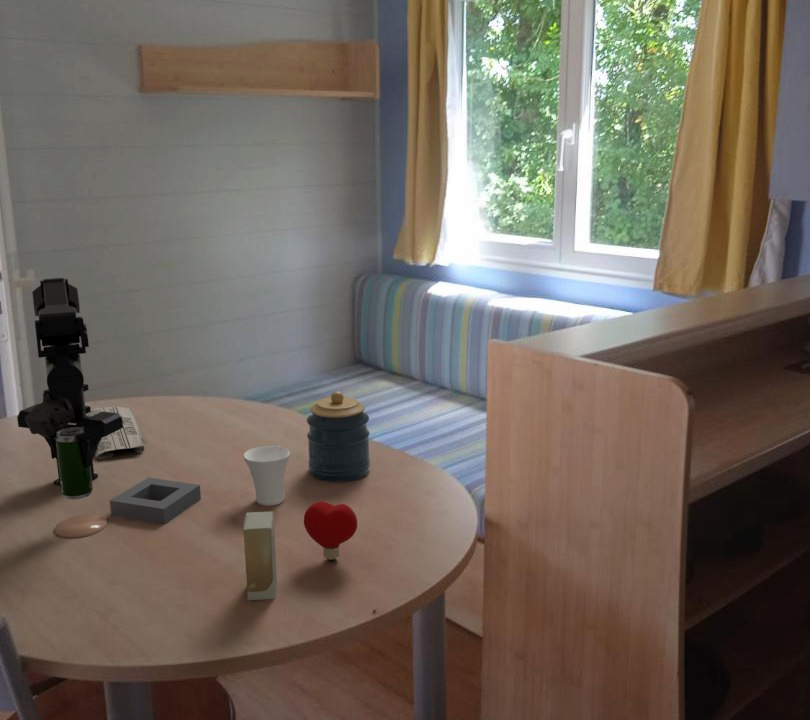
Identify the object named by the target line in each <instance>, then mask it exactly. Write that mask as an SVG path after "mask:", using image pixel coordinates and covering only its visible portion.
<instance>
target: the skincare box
mask: <svg viewBox="0 0 810 720" xmlns="http://www.w3.org/2000/svg"><path fill="white" fill-rule="evenodd" d="M275 533H276V532H275V515H274V511H273V510H272V511H256V512H255V511H251V512H246V514H245V517H244V523H243V540H244V541H243V543H244V556H245V557H244V559H245V561H244V562H245V574H246V592H247V595H246V596H247V601H261V600H263V601H265V600H275V599H276V595H277V587H278V586H277V585H278V578H277V576H278V575H277V558H276V557H277V556H276V555H277V554H276V552H277V551H276V536H275V535H276V534H275Z"/></svg>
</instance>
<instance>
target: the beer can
mask: <svg viewBox="0 0 810 720" xmlns="http://www.w3.org/2000/svg"><path fill="white" fill-rule="evenodd" d="M81 433H83V428H80V427H72V428H66V429H62V430H59V431H58V432H57V433H56V435H57V436H56V438H55V439H56V448H57V457H58V465H59V474H60V482H61V485H60V490H61V494H62V496H63V498H64V499H67V500H81V499H85V498H87V497H89V496H90V495H92V492H93V490H94V487H93V486H94V485H93V480H92V475H91V466H90V467H88V468H85V466H84V462H83V455H82V447H81V442H80V441H79V440H78V439H77V438H76V437H75V436H77V435H79V434H81Z"/></svg>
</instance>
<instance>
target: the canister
mask: <svg viewBox="0 0 810 720" xmlns="http://www.w3.org/2000/svg"><path fill="white" fill-rule="evenodd" d="M365 408H366V407H365V405H364V404H363V403H361V402H360V401H358V400H357V398H356V399H355V398H354V397H349V396H344V394H343V393H342V392H341V391H339V390H338V391H334V392H332V394H331V395H330V397H325V398H321V399H319V400H318V401H317V402H316V403H314V404H312V405H311V406H310V408H309V411H310V412H311V413H310V415H308V416H307V418H306V423H307V424H308V425H309V430H308V431H307V434H306V436H307V439H308V442H307V443H308V463H307V464H308V469H309V473H310V476H312V477H313V478H315V479H317V480H319V481H324V482H331V483H342V482H343V483H344V482H350V481H355V480H358V479H361V478H363V477H365V476H366V475H367V474H368V473H369V471H370V466H371V463H370V462H371V458H370V447H369V446H370V442H369V439H370V438H369V437H370V431H369V429H368V427H367V423H369V421H370V417H369V415H368V414H367V413H366V412H364V411H365V410H366V409H365Z"/></svg>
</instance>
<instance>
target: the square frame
mask: <svg viewBox="0 0 810 720" xmlns="http://www.w3.org/2000/svg"><path fill="white" fill-rule="evenodd" d="M154 499H155V500H154ZM200 500H202V494H201V484H196V483H190V482H189V483H188V482H182V481H175V480H169V479H168V480H167V479H161V478H154V477H147V478H145V479H143V480H141V481H140V482H139V483H137V484H135V485H133V486H131V487H130V488H128V489H127V490H125V491H123V492H121V493H120V494H118V495H116V496H114V497H113V498H112V499H110V500H109V505H110V515H111V516H114V517H121V518H125V519H132V520H139V521H145V522H151V523H158V524H164V525H166V524H167V523H169V522H170V521H172V520H174V519H175V518H176V517H178V516H179V515H181V514H182V513H183V512H184V511H187V509H189V508H190V507H192V506H194V504H196V503H197V502H198V501H200Z"/></svg>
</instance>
